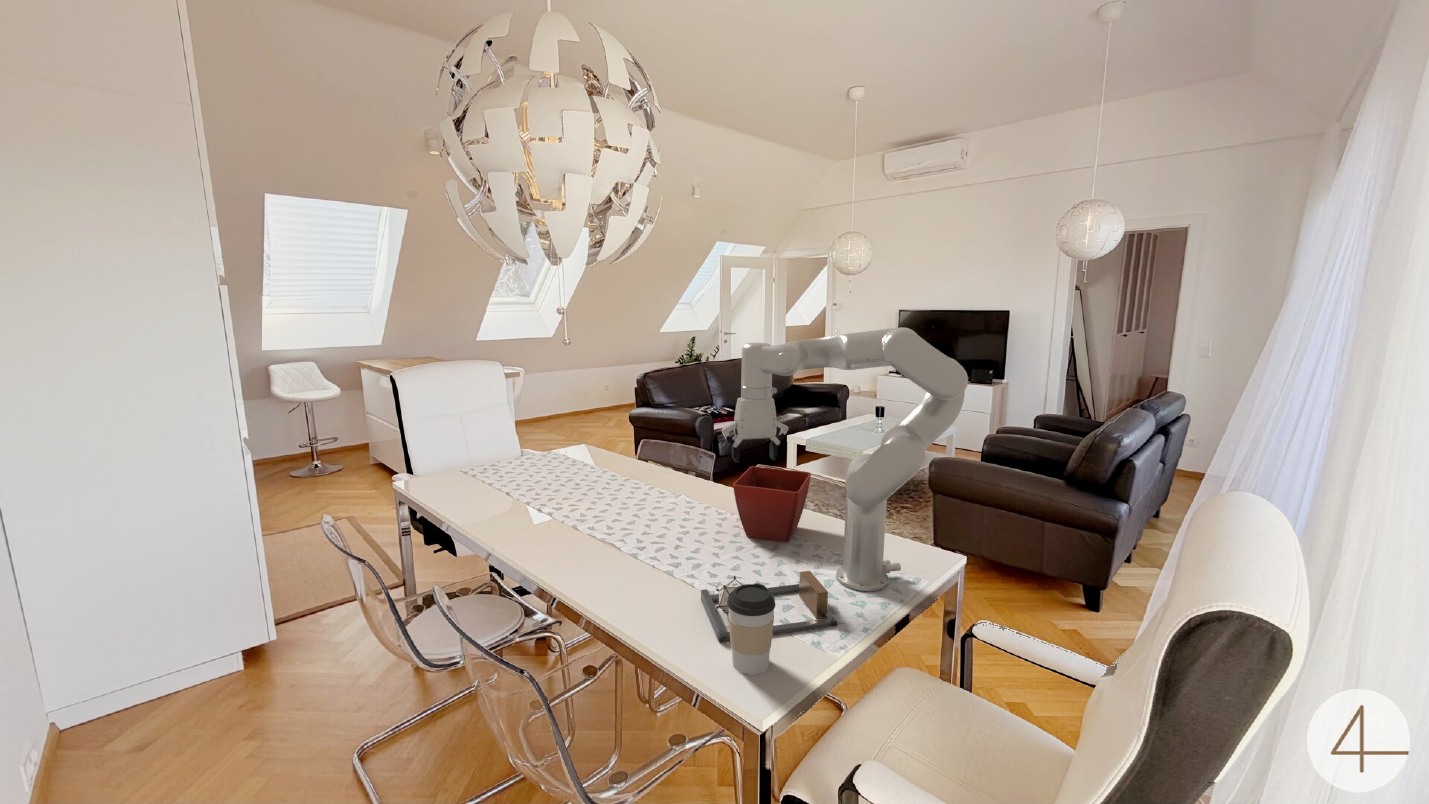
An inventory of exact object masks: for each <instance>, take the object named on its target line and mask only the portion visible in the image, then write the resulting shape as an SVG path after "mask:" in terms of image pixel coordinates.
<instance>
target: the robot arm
mask: <svg viewBox="0 0 1429 804" xmlns="http://www.w3.org/2000/svg"><path fill="white" fill-rule="evenodd" d="M881 367H882V368H885V367H892V368H893V369H894V370H896V371H898V373H900V374H901V375H902V376H904V377H905V378H906V379H908V381H910V382H912V383H913V384H915V385H916V386H918V387H919V388H921V389H922V390H924V391H925V393H924V396H923V397H922V399H920V401H919V403H918V404H917V405H916V406H915V407H913V409H911V411H909V413H907V414H906V415H905V416H904V417H903V418H901V419H900V420H899V421H898V422H897V423H896V424H895V425H893V426H892V427H891V428H890V429H889V430H887V431H886V432H885V433H884V434H883V436H882V438H881V441H880V446H878V448H877V449H876V450H875V451H874V452H873V453H872V454H871V453H863V454H860V455H857V456H856V457H854V458H853V459H852V460H851V461H850V463H849V464H848V467H847V471H846V474H845V475H846V476H845V481H844V482H845V483H844V487H845V488H844V489H845V493H846V494H845V495H846V497H845V518H844V535H843V537H844V538H843V554H842V555H843V556H842V557H843V559H842V566H839V568H837V569H836V573H835V575H836V576H835V577H836V579H837V581H838V582H839V583H840V584H841V585H843V586H845V587H847V588H848V589H852V590H856V591H862V592H875V591H879V590H880V591H881V590H883V589H884V588H886V587H888V585H889V583H890V581H889V580H890V578H889V575H888V574H890V572H899V571H901V570H902V566H901V563H899V562H893V563H892V562H891V560H889V559H887V560H885V559H884V551H885V548H884V547H885V534H886V522H887V521H886V519H887V503H888V502H887V501H888V499H889V498H890V497H891V496H893V495H894V494H895V492H897V491H898V490H899V489H901V487H903V486H905V484H906V483H907V482H909V481H910V480H911V479H912V478H913V477H915V475H916V474H917V473H918V472H919V471H920V470H921V469H922V467H923V465H924V463H925V460H926V450H927V449H928V448H929V447H930V446H932V445H933V444H934V442H936V441H937V440H938V439H939V438H940V436H942V435H943V434H944V433H945V432H946V431H947V430H948V429H949V428H951V426H952V425H953V424H954V422H956V420H957V418H958V416H959V415H960V413H961V410H962V408H963V405H964V401H965V400H964V399H965V393H966V392H965V391H966V389H967V387H968V384H969V377H968V373H967V371H966V370H965V368H964V366H963V365H961V364H960V362H958V361H957V360H956V359H955V358H951V357H949V356H948V355H946V354H944V353H943V352H941V351H940V350H939V349H937V348H936V347H934V346H933V345H931V343H929V342H927V341H926V340H925V339H923V338H922V337H921V336H920V335H918V333H917V332H915V331H914V330H913V329H911V328H908V327H893V328H885V329H877V330H870V331H869V330H867V331H860V332H853V333H850V332H849V333H844V334H838V335H837V334H836V335H833V336H825V337H817V338H816V337H815V338H809V339H801V340H800V339H799V340H792V341H788V342H784V343H781V344H776V345H771V344H770V343H766V342H747V343H745V344H744V345H743V346H742V348H741V378H740V379H741V380H740V381H741V382H740V383H741V387H740V397H737V400H736V404H735V412H734V417H733V418H734V421H733V422H731V423H729V424H727V425H726V426H725V427H723V428H721V432H722V435H723V436H724V439H725V440H726V441H727V442H728V443H729V444H730V445H731V458H732V460H733V461H734V462H735V463H737V464H739V463H740V459H741V458H740V457H741V450H740V449H741V448H740V446H739V445H740V443H742V441H744V440H762V439H769V440H770V443H769V459H771V460H772V461H776V460H777V457H778V456H779V455H778V454H779V445H780V444H781V442H782V441H783V439H785V438H786V434H787V433H788V431H789V426H788V425H786V424H784V423H782V422H780V421H778V420H777V410H776V405H775V399H774V398H773V395H774V394H777V393H778V389H777V388H776V387H774V386H772V385H773V382H772V381H773V375H778V376H783V377H789V376H790V377H791V376H792V375H795V374H797V373H798V372H799V371H803V370H812V369H823V368H827V369H828V368H832V369H833V368H834V369H839V370H842V371H853V370H854V371H855V370H863V369H870V368H872V369H873V368H881ZM777 428H779V429H780V431H779V433H777ZM732 431H733V434H734V436H733V437H731V435H730V432H732Z"/></svg>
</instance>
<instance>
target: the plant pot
mask: <svg viewBox="0 0 1429 804" xmlns="http://www.w3.org/2000/svg"><path fill="white" fill-rule="evenodd" d="M811 476H812V473H811V472H807V471H801V470H800V471H799V470H791V469H784V468H783V469H782V468H773V467H765V466H764V467H763V466H754V465H753V466H749V467H748V469H747V470H746V471H744V473H742V474H741V476H740V477H739V478H737V480H736V481H734V482H733V483H732V486H733V487H732V488H733V493H734V500H735V504H736V508H737V512H738V516H739V519H740V522H741V525H742V528H743V531H744V533H745V536H746V537H749V538H754V539H759V540H760V539H761V540H767V541H768V540H769V541H772V542H773V541H774V542H780V543H789V542H790V541H791V539H792V537H793V535H794V533H795V531H796V530H797V528H798V526H799V523H800V520H801V517H802V515H803V511H804V508H805V504H806V501H807V496H808V492H809V488H810V483H811V478H812V477H811Z"/></svg>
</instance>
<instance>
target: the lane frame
mask: <svg viewBox="0 0 1429 804" xmlns="http://www.w3.org/2000/svg"><path fill="white" fill-rule="evenodd" d="M798 581H799V583H798V584H797V583H796V584H789V585H782V586H781V585H780V586H772V587H766V588H767V590H768V592H770V593H771V594H772V595H773V596H774V595H780V594H787V593H796V592H798V596H799V597H800V599H801V600H802V601H803V604H804V605H805V606H806V607H807V609H809V611H810V612H811V614H812V615H813V616H814V618H815V619H813V620H805V621H799V622H798V621H797V622H792V623H784V624H776V625H775V624H774V625H773V632H772V636H774V635H779V634H787V633H793V632H800V631H807V630H815V629H821V628H827V627H835V626H838V619H836V617H835V616H834V615H833V614H832V612H830V611H829V609H828V600H829V599H828V596H829V591H828V590H827V589H826V587H824V585H823V584H822V583H821V582H820V581H819V580H818V578H817V577H816V576H815V575H814V574H813V572H812V571H810V570H805V571H799V580H798ZM700 601H701V603H702V605H703V609H704V610H705V612H706V615H707V618H708V620H709V624H711V627H712V629H713V632H714V635H715V637H716V639H717V641H718V643H722V642H729V641H730V631H727V629H726V627H725V625H724V623H723V621H722V617H721V616H720V613H719V612H718V609H716V605H715V602H719V593H715V594H710V592H709V589H707V588H706V589H701V590H700Z"/></svg>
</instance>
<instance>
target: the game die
mask: <svg viewBox="0 0 1429 804" xmlns="http://www.w3.org/2000/svg"><path fill="white" fill-rule="evenodd" d="M741 585H744V584H743V583H741V582H740V581H738V580H737V576H736V575H734V576H733V580H731V581H729V582H728V583H727V584H723V585H722V587H721V588H720V589H719V588H715V590H716V592H718V594H719V601H718V605H717V606H716V605H715V607H716V609H717V610H718V609H721V610H722V612H724V613H726V614H727V615H728V614H729V607H728V605H727V601H728V596H729V594H730V593H731V592H732V591H733V590H734V589H735V588H736V587H738V586H741Z"/></svg>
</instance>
